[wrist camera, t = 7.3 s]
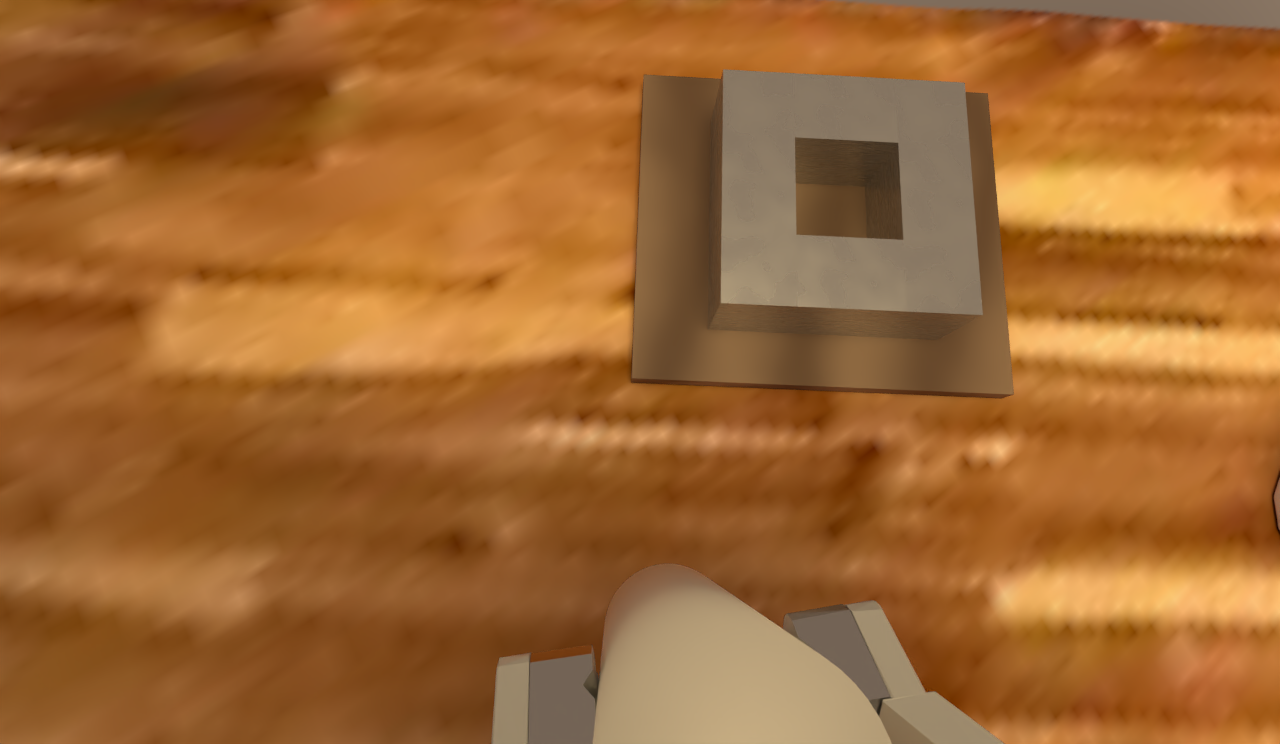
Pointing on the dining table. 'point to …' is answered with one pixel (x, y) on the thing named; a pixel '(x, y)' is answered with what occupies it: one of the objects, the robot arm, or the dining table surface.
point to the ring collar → (844, 156)
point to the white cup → (1277, 502)
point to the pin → (716, 672)
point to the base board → (679, 234)
